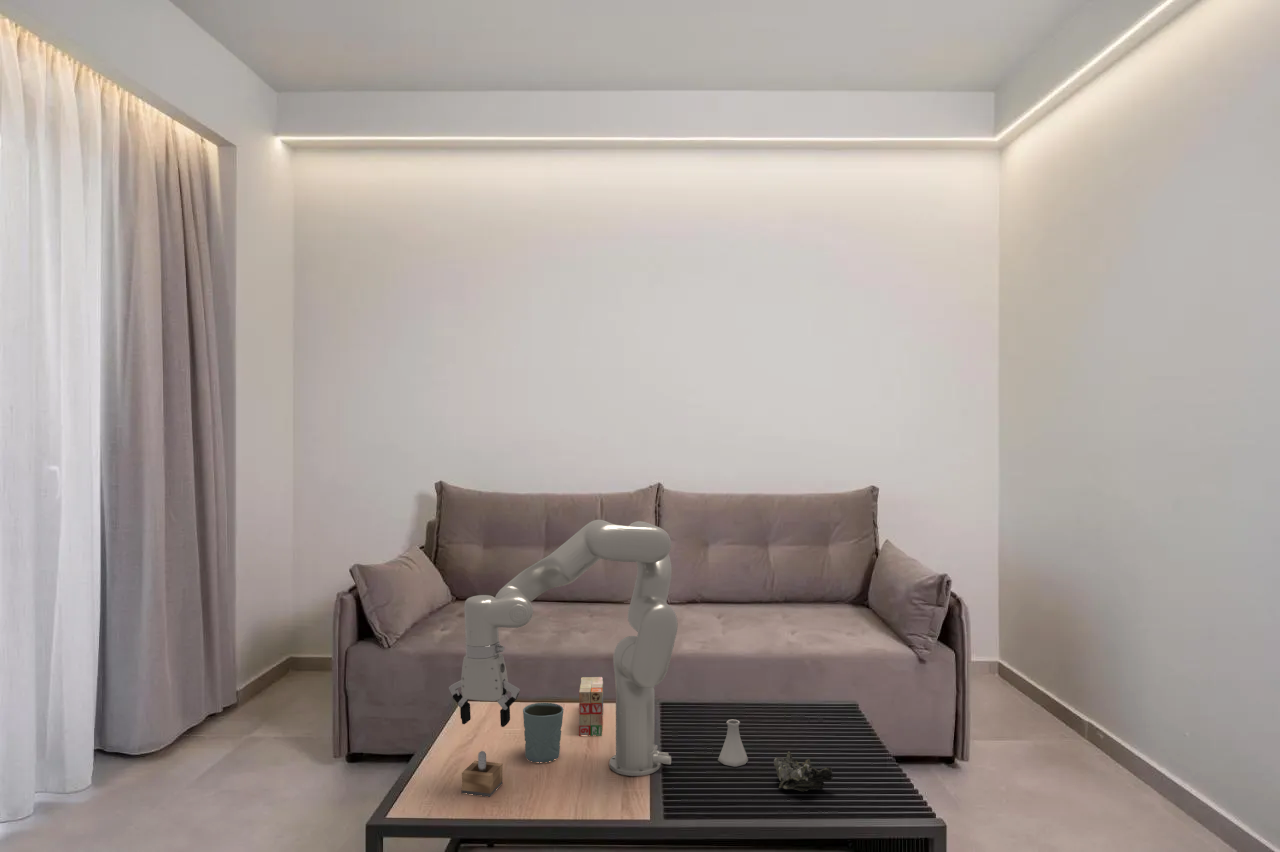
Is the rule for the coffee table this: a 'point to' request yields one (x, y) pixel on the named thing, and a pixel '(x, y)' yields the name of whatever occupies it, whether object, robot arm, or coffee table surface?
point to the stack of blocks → (591, 706)
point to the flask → (733, 746)
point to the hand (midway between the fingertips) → (485, 723)
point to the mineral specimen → (800, 774)
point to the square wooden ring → (482, 777)
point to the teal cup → (542, 731)
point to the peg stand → (481, 769)
